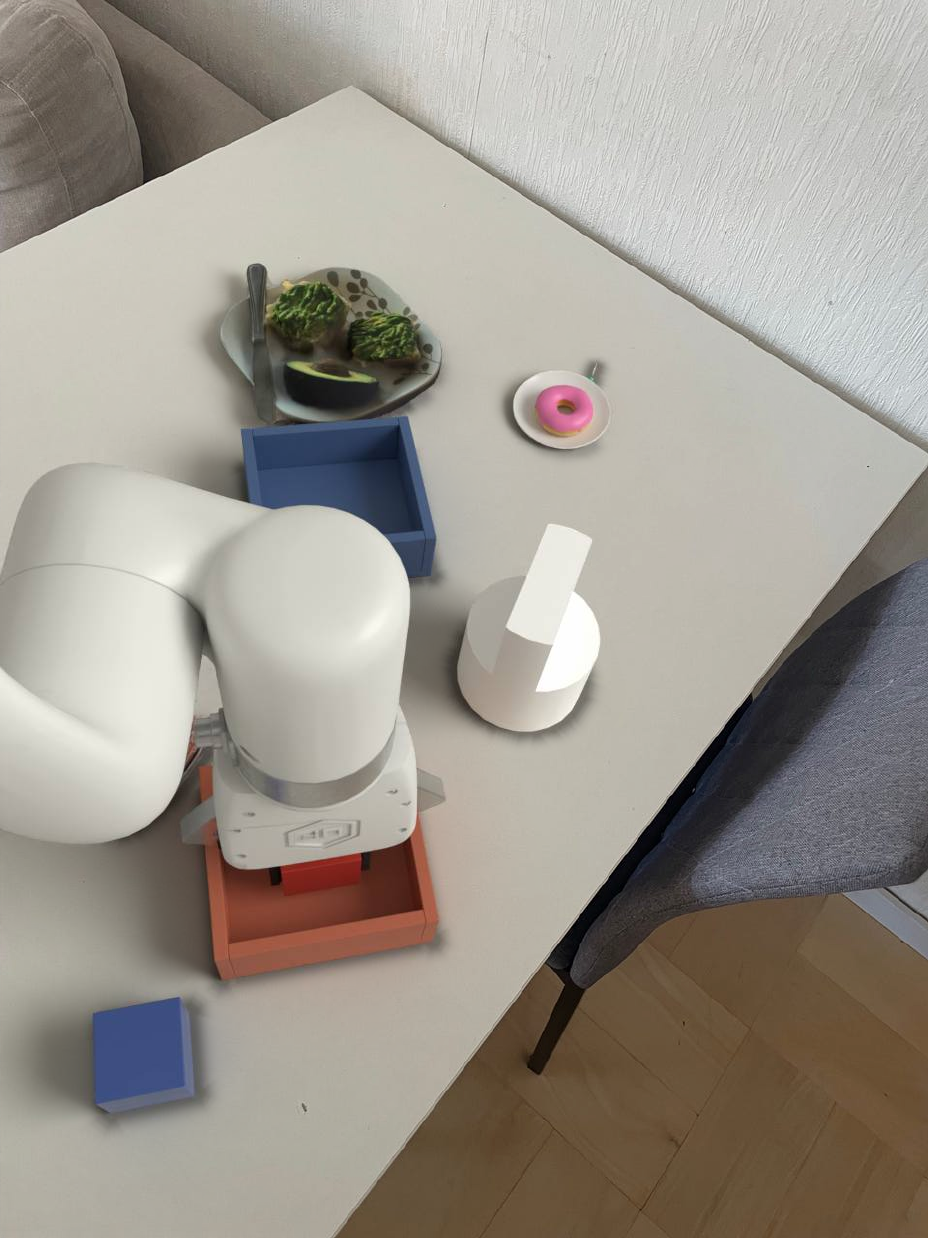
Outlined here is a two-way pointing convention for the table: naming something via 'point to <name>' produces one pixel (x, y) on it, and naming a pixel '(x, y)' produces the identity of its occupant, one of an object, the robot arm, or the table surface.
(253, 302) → the salad plate
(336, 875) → the red block
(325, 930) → the terracotta bin
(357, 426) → the blue bin
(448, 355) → the table surface
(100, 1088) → the blue block
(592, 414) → the donut
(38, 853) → the table surface
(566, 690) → the cylinder with rectangular tab
